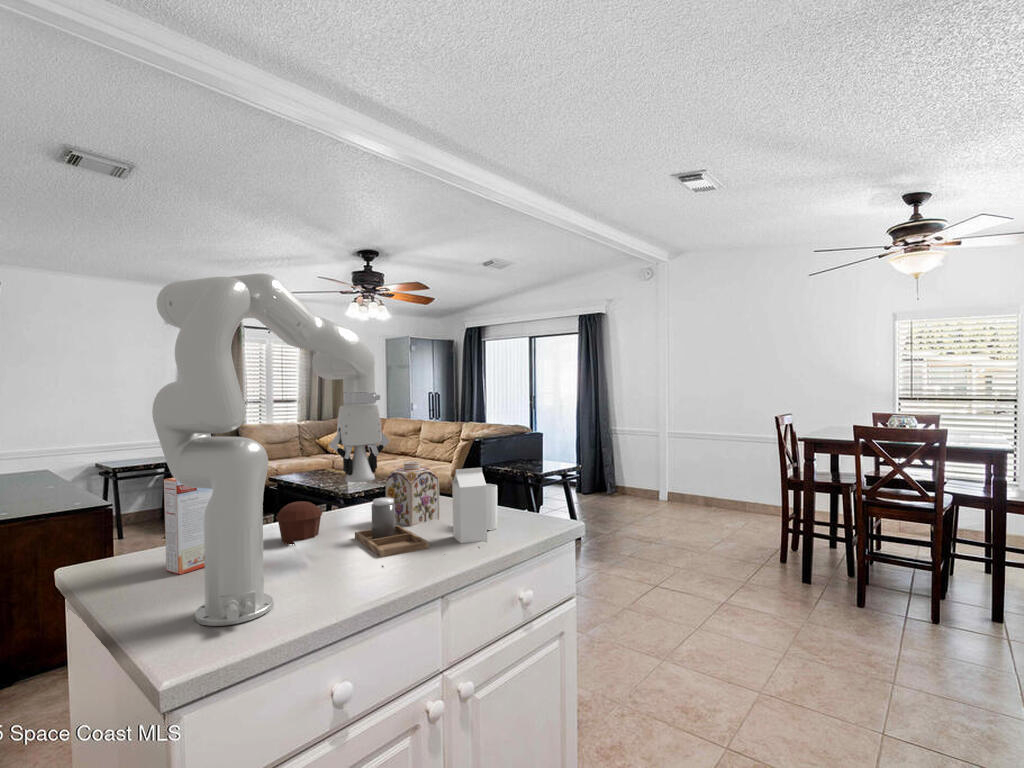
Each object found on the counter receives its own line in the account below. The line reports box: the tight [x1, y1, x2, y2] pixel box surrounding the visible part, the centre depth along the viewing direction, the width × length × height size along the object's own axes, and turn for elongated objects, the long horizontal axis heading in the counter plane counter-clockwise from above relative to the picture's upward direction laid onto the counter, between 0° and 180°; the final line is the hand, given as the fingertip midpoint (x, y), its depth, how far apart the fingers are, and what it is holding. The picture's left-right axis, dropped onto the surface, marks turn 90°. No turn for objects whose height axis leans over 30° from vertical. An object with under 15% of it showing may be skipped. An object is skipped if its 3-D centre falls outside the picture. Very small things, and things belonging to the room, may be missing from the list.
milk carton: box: [451, 467, 488, 544], centre depth 140 cm, size 7×7×19 cm
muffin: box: [275, 500, 323, 546], centre depth 145 cm, size 12×11×10 cm
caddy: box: [354, 524, 430, 559], centre depth 137 cm, size 20×12×3 cm, turn 33°
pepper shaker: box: [371, 497, 397, 539], centre depth 141 cm, size 6×6×10 cm
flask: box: [344, 445, 376, 483], centre depth 134 cm, size 7×7×10 cm
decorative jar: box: [385, 461, 441, 527], centre depth 162 cm, size 12×12×18 cm
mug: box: [486, 483, 498, 530], centre depth 155 cm, size 10×7×12 cm, turn 44°
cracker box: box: [163, 477, 213, 575], centre depth 126 cm, size 14×6×21 cm, turn 149°
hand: (360, 472), depth 134 cm, fingers closed on flask, 5 cm apart
